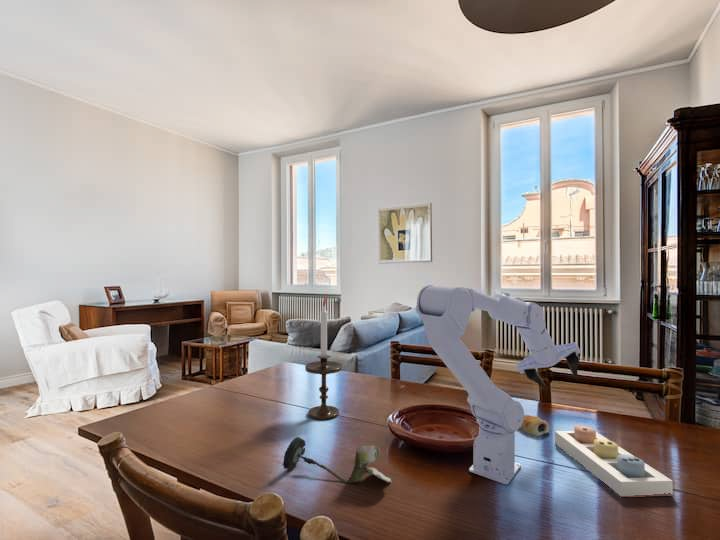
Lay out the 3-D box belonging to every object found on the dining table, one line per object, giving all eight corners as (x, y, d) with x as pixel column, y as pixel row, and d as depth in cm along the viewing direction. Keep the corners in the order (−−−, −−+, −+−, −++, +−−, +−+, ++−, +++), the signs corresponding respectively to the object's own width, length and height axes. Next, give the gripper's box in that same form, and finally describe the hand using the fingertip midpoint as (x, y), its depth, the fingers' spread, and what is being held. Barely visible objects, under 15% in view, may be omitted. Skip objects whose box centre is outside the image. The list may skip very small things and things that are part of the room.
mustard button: (623, 462, 78) (623, 447, 78) (602, 462, 78) (602, 447, 78) (608, 452, 83) (608, 437, 83) (589, 452, 83) (589, 438, 83)
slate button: (650, 481, 71) (650, 464, 71) (628, 481, 71) (628, 464, 71) (632, 468, 76) (632, 453, 76) (611, 469, 76) (611, 453, 76)
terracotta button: (600, 446, 85) (600, 432, 85) (581, 446, 85) (581, 432, 85) (587, 437, 90) (588, 424, 90) (570, 438, 90) (570, 425, 90)
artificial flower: (300, 463, 84) (311, 417, 86) (392, 500, 75) (402, 448, 77) (277, 471, 76) (290, 421, 79) (377, 514, 67) (389, 456, 69)
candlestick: (344, 408, 114) (344, 295, 114) (338, 422, 104) (339, 297, 104) (310, 406, 115) (310, 294, 116) (301, 420, 105) (301, 297, 105)
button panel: (672, 496, 70) (672, 480, 70) (621, 497, 69) (621, 481, 69) (594, 442, 92) (594, 430, 92) (554, 443, 91) (554, 431, 91)
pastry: (506, 424, 103) (506, 410, 103) (524, 420, 106) (524, 407, 106) (534, 438, 95) (534, 423, 95) (552, 433, 97) (553, 419, 97)
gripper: (563, 320, 89) (582, 360, 93) (505, 343, 94) (526, 379, 98) (575, 338, 83) (595, 380, 87) (512, 362, 87) (534, 400, 92)
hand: (559, 381), depth 92 cm, fingers open, 7 cm apart
